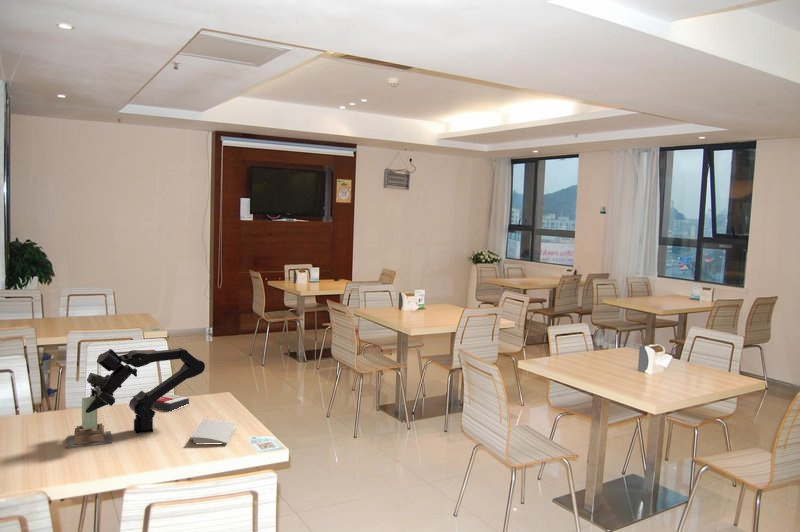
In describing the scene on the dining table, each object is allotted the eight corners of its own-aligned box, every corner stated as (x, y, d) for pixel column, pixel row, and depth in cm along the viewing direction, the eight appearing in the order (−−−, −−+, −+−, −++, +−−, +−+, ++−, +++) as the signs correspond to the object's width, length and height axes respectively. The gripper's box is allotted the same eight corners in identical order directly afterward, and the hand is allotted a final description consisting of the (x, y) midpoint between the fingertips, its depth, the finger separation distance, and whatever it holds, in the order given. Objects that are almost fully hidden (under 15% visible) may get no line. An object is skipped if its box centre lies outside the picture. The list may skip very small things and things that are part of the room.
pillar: (95, 424, 234) (95, 396, 234) (97, 427, 231) (97, 399, 230) (81, 426, 232) (81, 397, 231) (83, 429, 228) (83, 401, 227)
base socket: (110, 432, 240) (110, 421, 240) (111, 443, 230) (111, 431, 229) (67, 437, 234) (67, 425, 233) (66, 448, 223) (66, 436, 223)
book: (184, 448, 229) (184, 438, 229) (199, 427, 252) (199, 418, 251) (226, 448, 230) (226, 438, 230) (236, 427, 253) (237, 418, 253)
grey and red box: (167, 392, 285) (189, 396, 277) (167, 401, 285) (189, 406, 277) (146, 398, 275) (169, 402, 268) (147, 407, 275) (169, 412, 268)
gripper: (96, 360, 239) (64, 391, 234) (105, 371, 224) (71, 404, 219) (118, 377, 244) (87, 408, 239) (128, 389, 229) (96, 422, 224)
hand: (85, 410), depth 230 cm, fingers closed on pillar, 4 cm apart
